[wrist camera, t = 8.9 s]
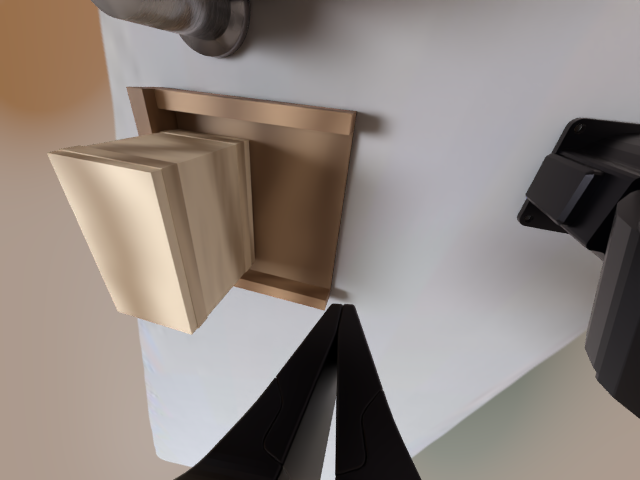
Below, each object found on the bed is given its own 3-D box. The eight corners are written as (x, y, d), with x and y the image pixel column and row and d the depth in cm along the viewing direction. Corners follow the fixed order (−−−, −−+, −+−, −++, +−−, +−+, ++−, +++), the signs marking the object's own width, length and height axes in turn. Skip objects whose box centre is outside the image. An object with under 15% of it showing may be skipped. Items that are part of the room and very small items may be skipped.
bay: (356, 111, 17) (349, 115, 14) (329, 295, 26) (321, 318, 23) (161, 87, 20) (126, 86, 17) (195, 261, 28) (175, 278, 26)
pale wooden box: (249, 139, 19) (151, 171, 12) (255, 261, 25) (192, 335, 17) (177, 128, 20) (45, 151, 13) (199, 247, 26) (117, 311, 18)
